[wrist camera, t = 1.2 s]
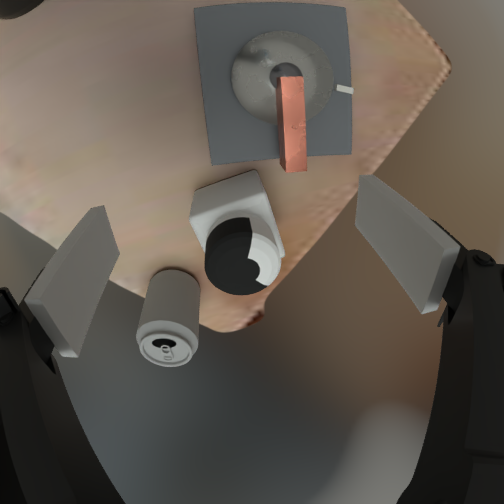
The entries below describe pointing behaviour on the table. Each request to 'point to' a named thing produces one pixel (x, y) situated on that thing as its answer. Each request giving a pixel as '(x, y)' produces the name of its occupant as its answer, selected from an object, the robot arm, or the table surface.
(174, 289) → the can
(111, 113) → the table surface
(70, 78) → the table surface
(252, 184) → the container
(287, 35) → the dial
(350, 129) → the plate
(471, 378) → the robot arm
